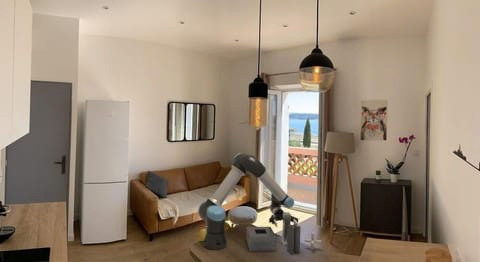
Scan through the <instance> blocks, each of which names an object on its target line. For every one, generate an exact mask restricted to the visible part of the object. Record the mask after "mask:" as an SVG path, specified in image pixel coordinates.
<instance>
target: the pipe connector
mask: <svg viewBox="0 0 480 262" xmlns="http://www.w3.org/2000/svg"><path fill="white" fill-rule="evenodd" d="M304 243H310V249H311V250H315V244H322V240H320V239H319V240H318V239H315V232H311V236H310V238H304Z"/></svg>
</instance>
